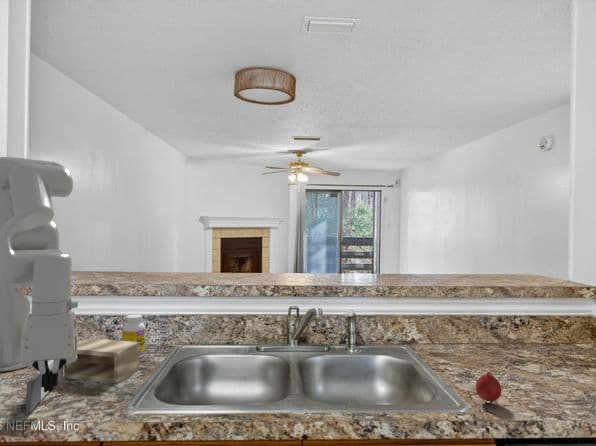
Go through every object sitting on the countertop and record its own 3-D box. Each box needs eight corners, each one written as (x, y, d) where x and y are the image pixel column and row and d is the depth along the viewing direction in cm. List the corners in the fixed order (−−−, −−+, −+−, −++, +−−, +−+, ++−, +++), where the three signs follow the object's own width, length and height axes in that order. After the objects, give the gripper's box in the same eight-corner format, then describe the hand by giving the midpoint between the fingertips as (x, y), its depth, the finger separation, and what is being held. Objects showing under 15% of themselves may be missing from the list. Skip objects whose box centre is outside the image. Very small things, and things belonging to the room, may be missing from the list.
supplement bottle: (136, 361, 126) (137, 319, 126) (117, 359, 127) (118, 317, 127) (148, 354, 133) (149, 314, 133) (130, 352, 134) (130, 313, 134)
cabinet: (63, 377, 112) (64, 348, 112) (88, 365, 122) (89, 338, 121) (117, 383, 109) (118, 353, 109) (138, 370, 119) (139, 342, 119)
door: (58, 374, 111) (59, 350, 111) (63, 374, 112) (64, 350, 112) (25, 413, 89) (25, 383, 89) (31, 412, 90) (32, 382, 90)
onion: (471, 397, 105) (472, 366, 105) (494, 398, 105) (495, 367, 105) (480, 408, 100) (481, 374, 100) (505, 409, 99) (506, 375, 99)
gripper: (90, 303, 99) (88, 380, 99) (17, 306, 94) (15, 386, 94) (86, 309, 92) (84, 392, 92) (6, 313, 87) (4, 400, 87)
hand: (49, 389), depth 93 cm, fingers closed
